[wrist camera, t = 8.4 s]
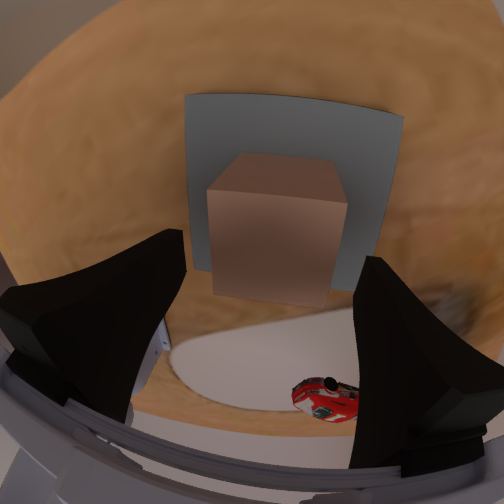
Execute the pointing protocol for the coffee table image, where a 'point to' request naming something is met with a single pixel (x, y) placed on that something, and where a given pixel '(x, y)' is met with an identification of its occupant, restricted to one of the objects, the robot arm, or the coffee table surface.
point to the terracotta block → (276, 228)
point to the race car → (327, 399)
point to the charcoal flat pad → (300, 145)
